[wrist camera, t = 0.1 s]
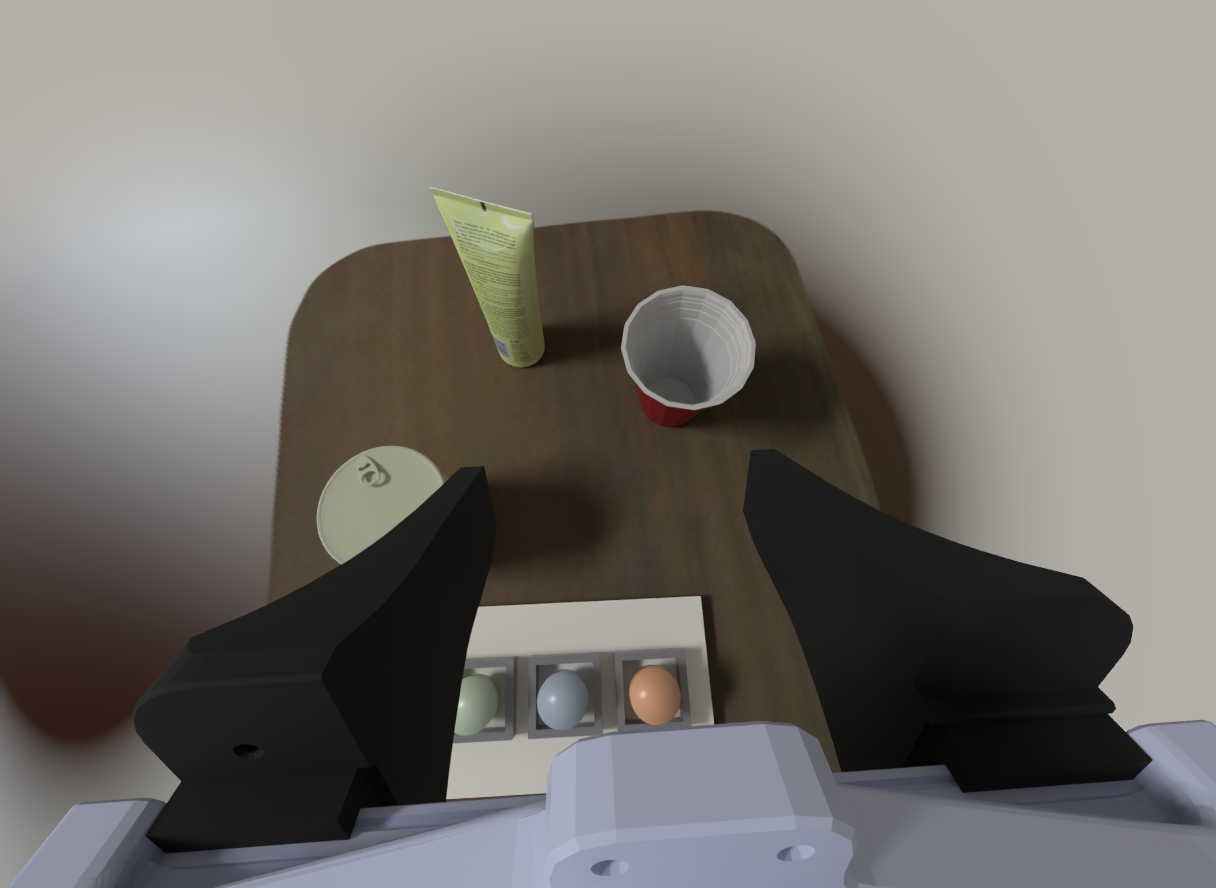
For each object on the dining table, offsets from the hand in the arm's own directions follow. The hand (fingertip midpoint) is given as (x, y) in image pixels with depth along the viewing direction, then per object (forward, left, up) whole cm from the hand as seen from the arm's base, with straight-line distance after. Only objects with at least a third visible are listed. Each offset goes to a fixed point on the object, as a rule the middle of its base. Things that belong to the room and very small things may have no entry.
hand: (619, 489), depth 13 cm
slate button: (-10, +4, -29) cm, 31 cm away
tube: (+23, +8, -32) cm, 40 cm away
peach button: (-10, -3, -29) cm, 31 cm away
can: (+4, +16, -32) cm, 36 cm away
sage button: (-10, +11, -29) cm, 33 cm away
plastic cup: (+16, -7, -32) cm, 37 cm away
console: (-10, +4, -32) cm, 34 cm away
